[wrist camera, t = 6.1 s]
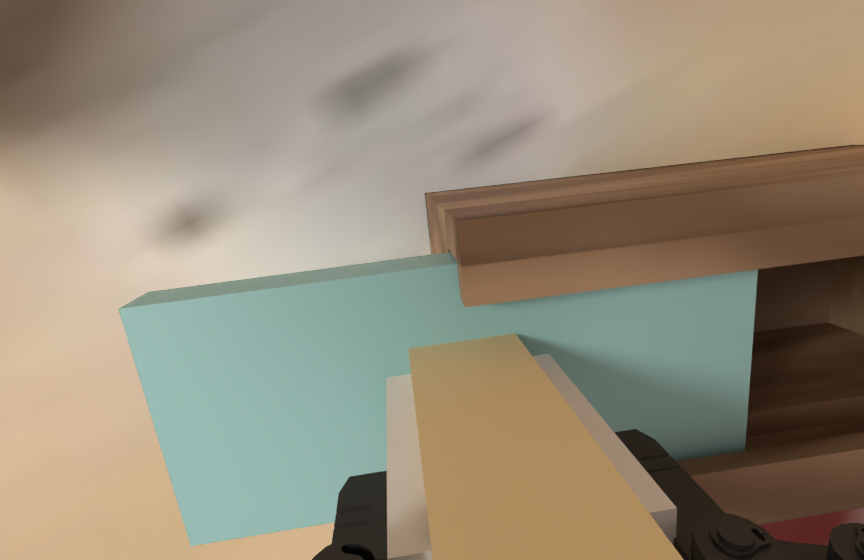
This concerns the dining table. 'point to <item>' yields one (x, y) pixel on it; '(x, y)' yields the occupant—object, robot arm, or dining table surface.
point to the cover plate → (345, 336)
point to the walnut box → (703, 256)
